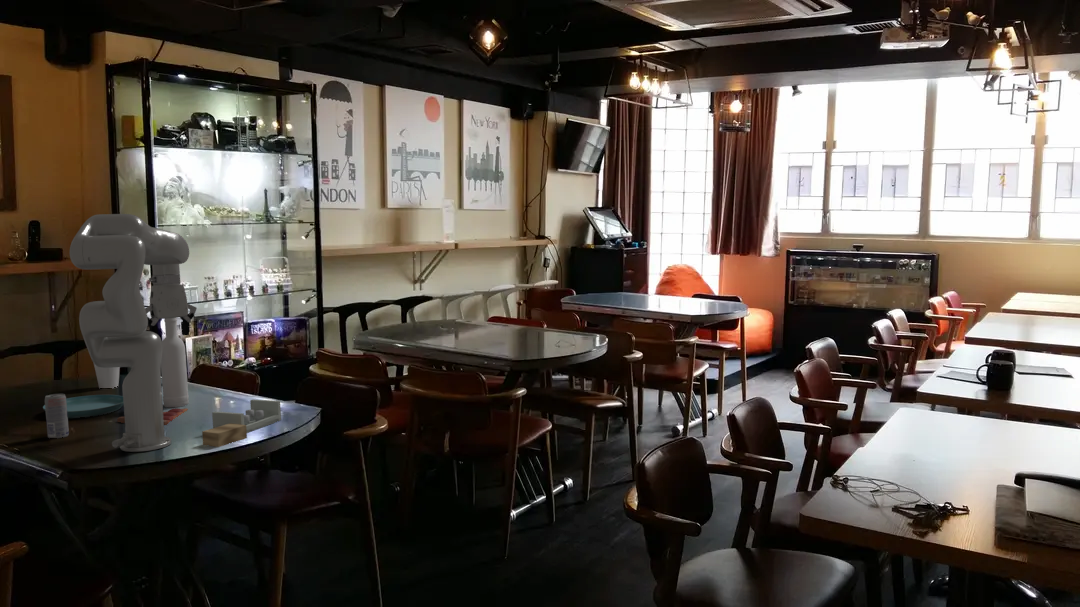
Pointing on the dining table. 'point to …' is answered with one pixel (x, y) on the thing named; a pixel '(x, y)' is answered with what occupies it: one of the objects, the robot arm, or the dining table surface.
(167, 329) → the bottle
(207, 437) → the oak plank
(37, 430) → the dining table surface
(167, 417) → the billiard ball rack
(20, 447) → the dining table surface
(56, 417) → the energy drink
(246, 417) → the peg frame
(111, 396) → the saucer
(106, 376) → the foam cup
